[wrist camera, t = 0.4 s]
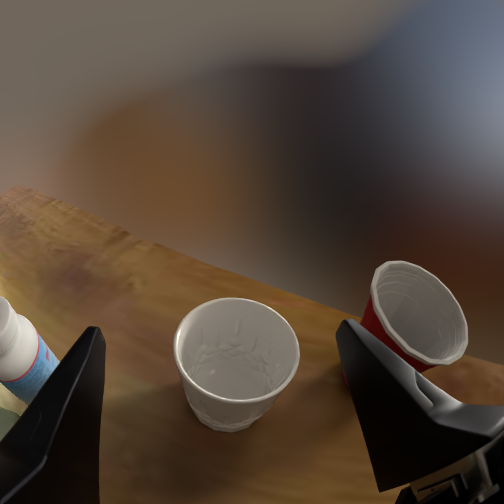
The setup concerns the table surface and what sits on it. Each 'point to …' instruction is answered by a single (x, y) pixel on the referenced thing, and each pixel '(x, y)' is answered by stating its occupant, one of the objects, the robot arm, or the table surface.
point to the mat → (6, 421)
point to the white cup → (234, 361)
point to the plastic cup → (415, 316)
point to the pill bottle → (22, 355)
